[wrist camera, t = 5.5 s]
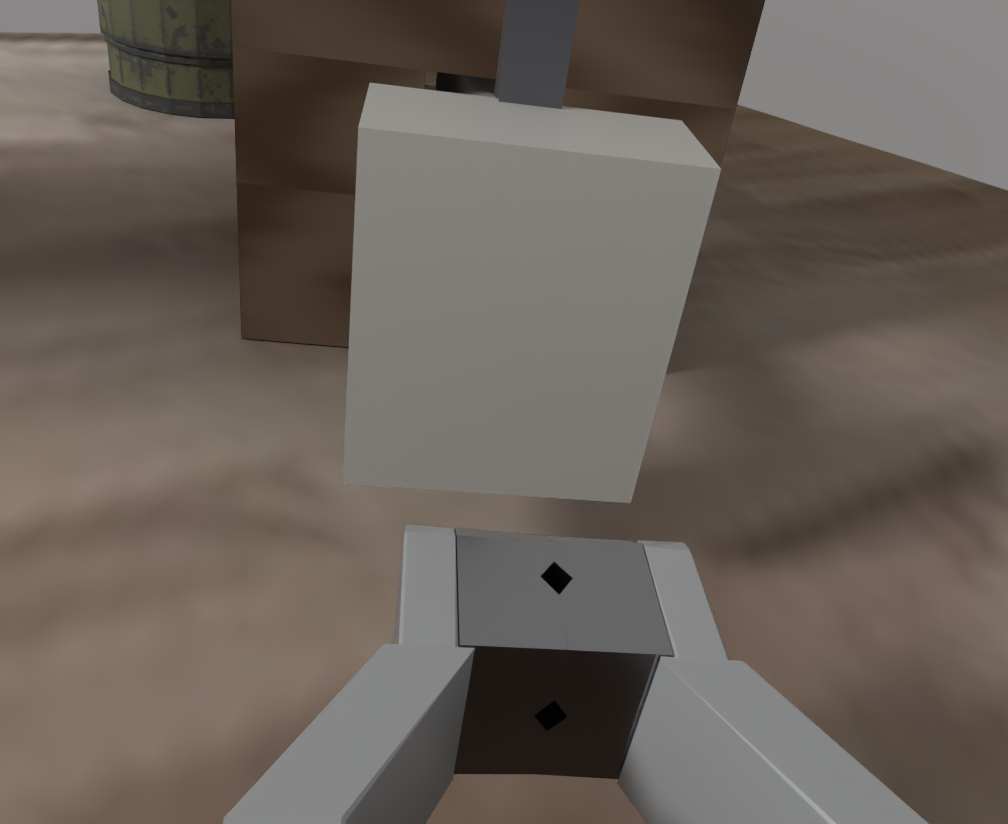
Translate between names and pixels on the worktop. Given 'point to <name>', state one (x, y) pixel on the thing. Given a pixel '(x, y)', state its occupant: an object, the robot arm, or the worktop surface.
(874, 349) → the worktop surface
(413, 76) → the block
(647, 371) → the peg
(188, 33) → the olive green tall piece
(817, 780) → the robot arm
